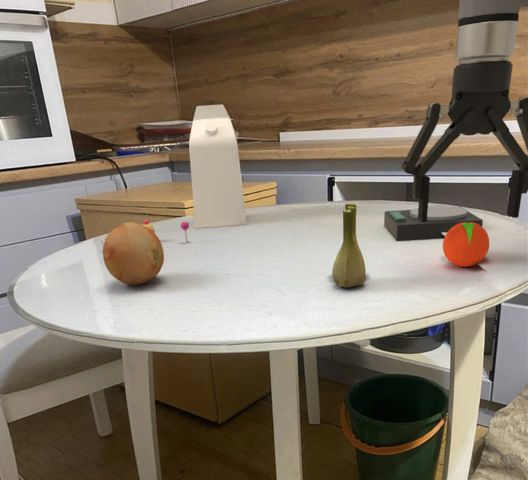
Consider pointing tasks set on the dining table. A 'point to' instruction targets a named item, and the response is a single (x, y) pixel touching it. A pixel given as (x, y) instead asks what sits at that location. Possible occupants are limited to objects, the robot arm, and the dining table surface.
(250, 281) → the dining table surface
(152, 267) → the onion
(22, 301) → the dining table surface
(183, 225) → the candy
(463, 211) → the scale
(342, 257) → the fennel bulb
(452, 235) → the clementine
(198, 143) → the milk
